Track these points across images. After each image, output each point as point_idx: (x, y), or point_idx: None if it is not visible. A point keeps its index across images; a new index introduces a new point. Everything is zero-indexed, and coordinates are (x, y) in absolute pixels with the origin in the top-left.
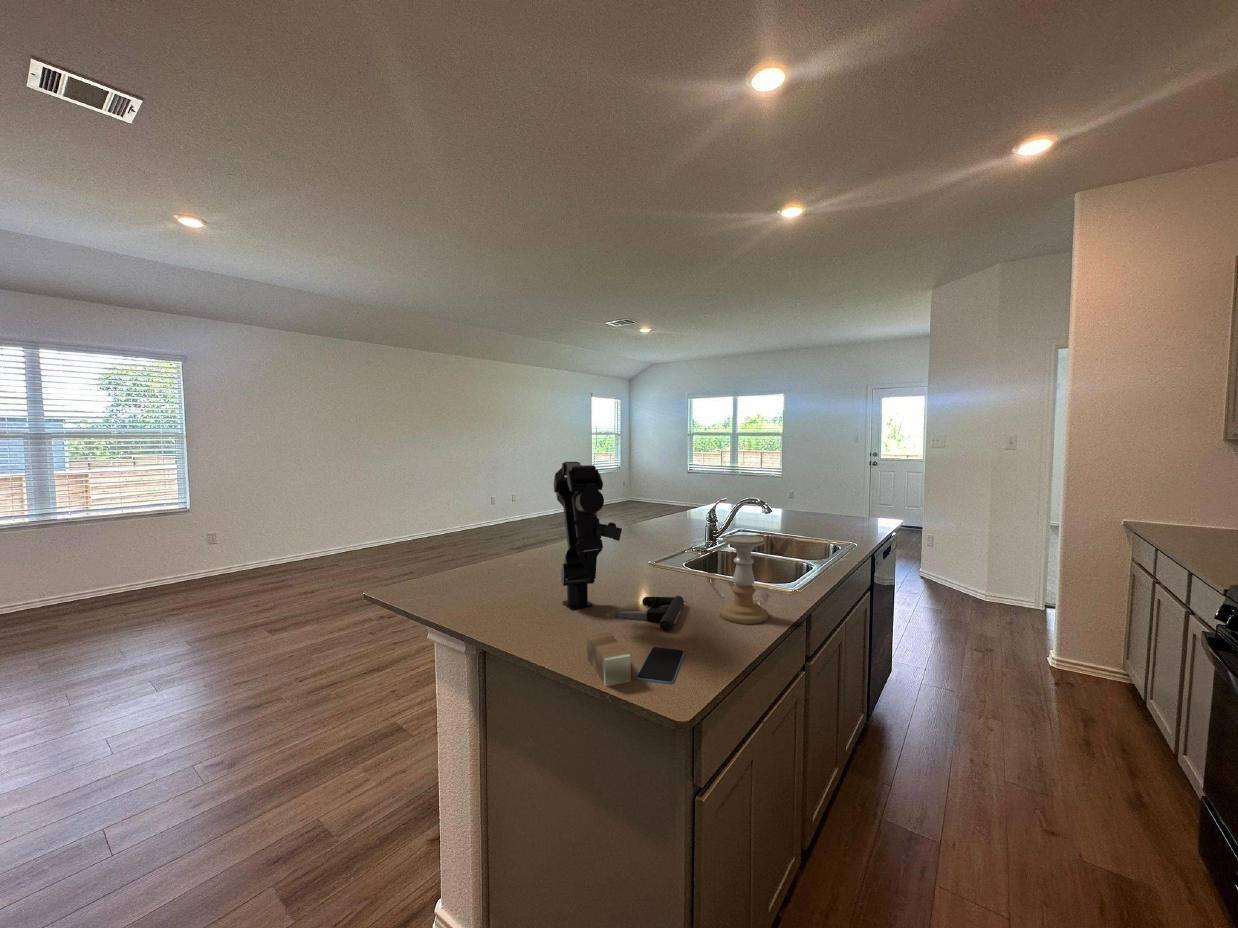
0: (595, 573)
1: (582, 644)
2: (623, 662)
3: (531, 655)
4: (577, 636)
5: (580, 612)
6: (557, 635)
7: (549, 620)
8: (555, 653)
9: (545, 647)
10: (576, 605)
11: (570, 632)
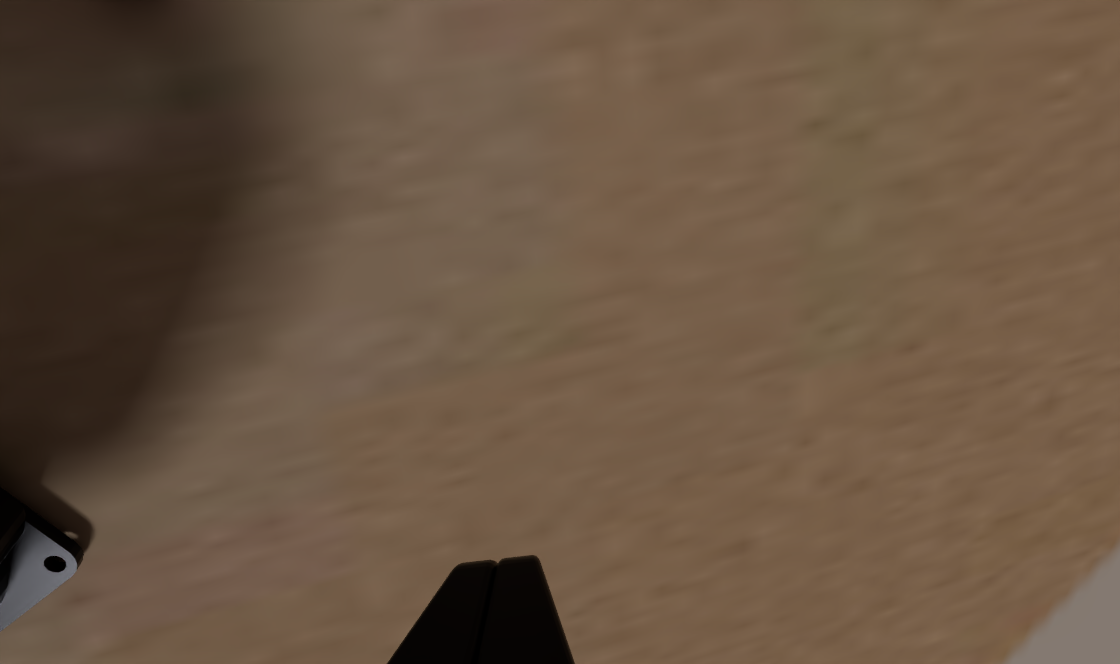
0: (563, 634)
1: (945, 244)
2: None
3: (1090, 541)
4: (769, 328)
5: (127, 454)
6: (746, 488)
7: None
8: (1086, 404)
9: (971, 500)
10: (17, 542)
11: (679, 408)
